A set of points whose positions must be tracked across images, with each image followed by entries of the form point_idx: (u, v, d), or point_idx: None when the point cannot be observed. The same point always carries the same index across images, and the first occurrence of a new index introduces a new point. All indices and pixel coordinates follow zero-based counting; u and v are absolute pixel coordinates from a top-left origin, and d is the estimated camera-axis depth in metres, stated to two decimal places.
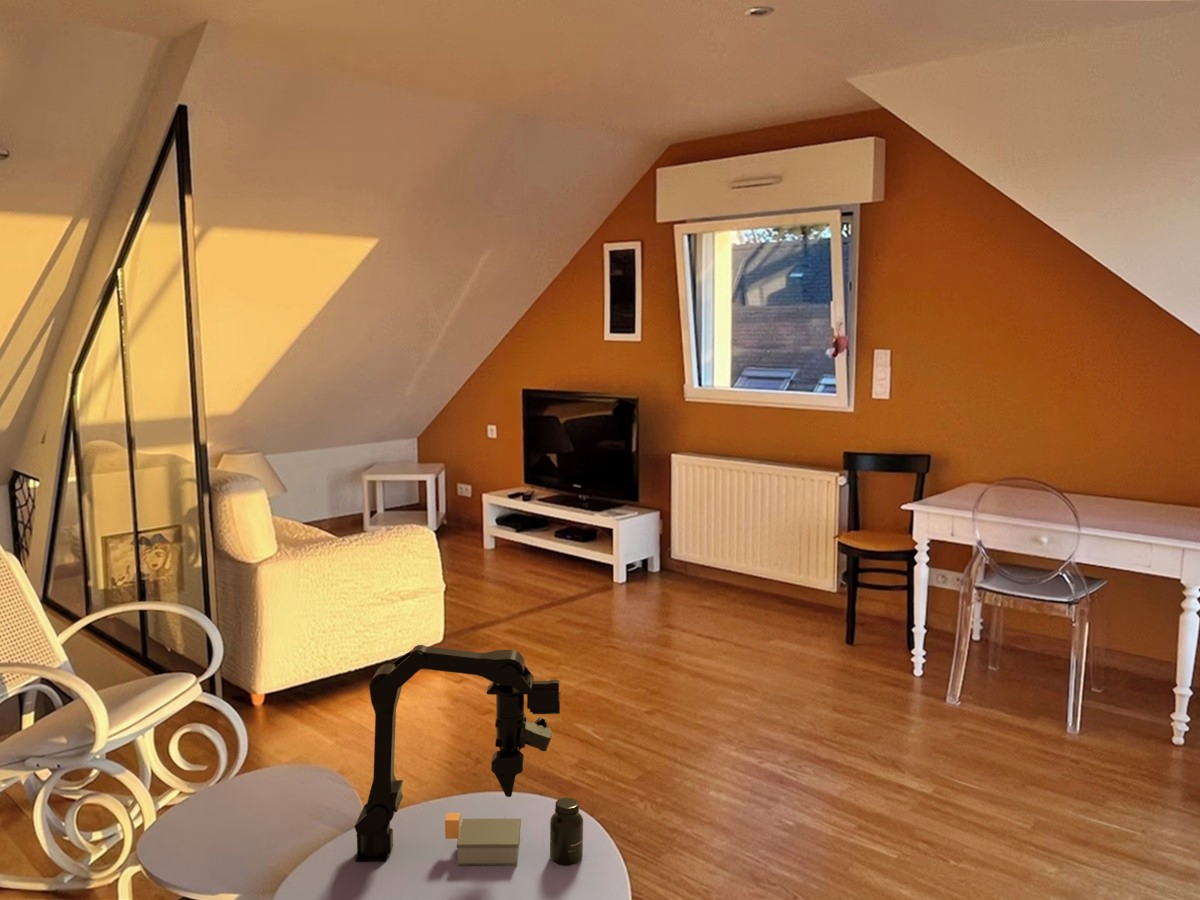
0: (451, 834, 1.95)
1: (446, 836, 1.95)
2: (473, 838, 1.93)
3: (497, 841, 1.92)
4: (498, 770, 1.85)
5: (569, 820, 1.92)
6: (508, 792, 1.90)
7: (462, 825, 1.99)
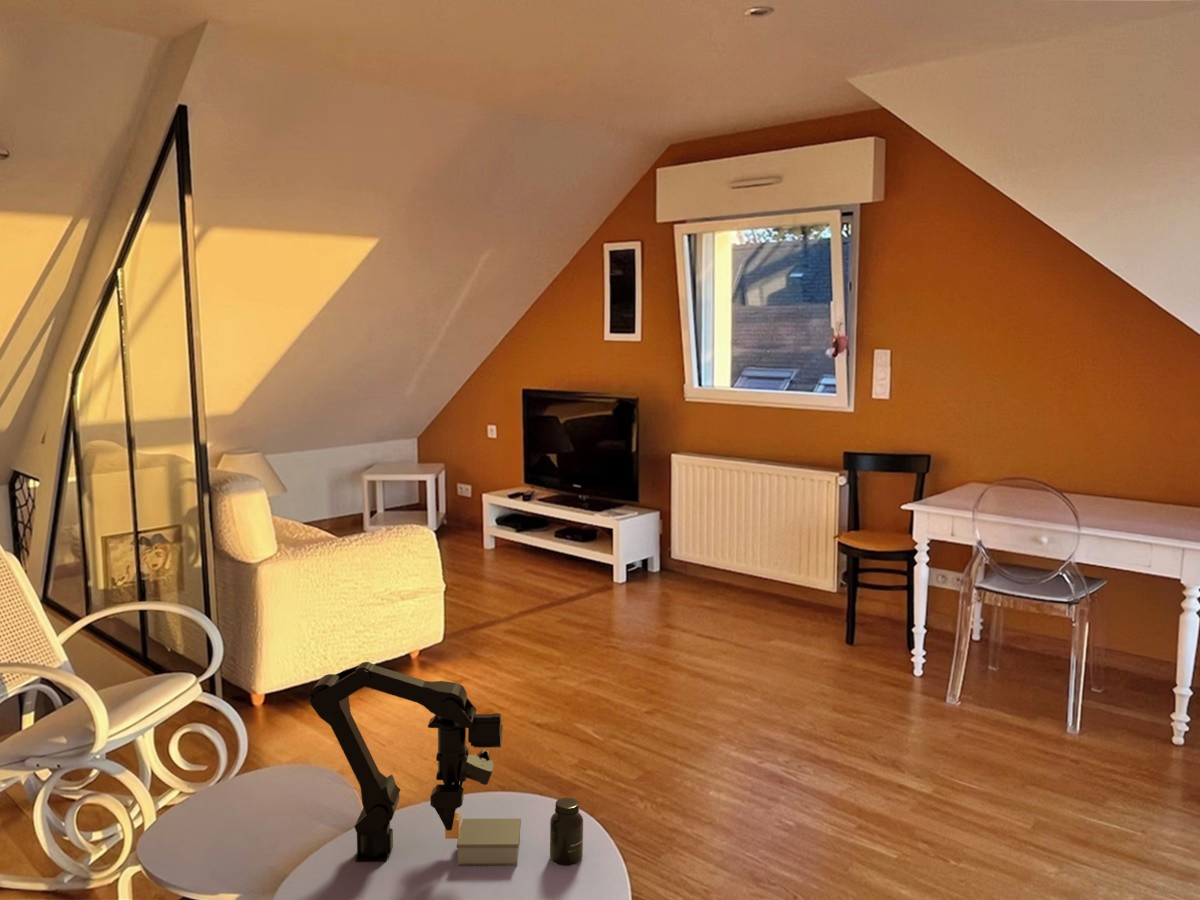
0: (451, 834, 1.95)
1: (446, 836, 1.95)
2: (473, 838, 1.93)
3: (497, 841, 1.92)
4: (437, 804, 1.86)
5: (569, 820, 1.92)
6: (448, 825, 1.91)
7: (462, 825, 1.99)
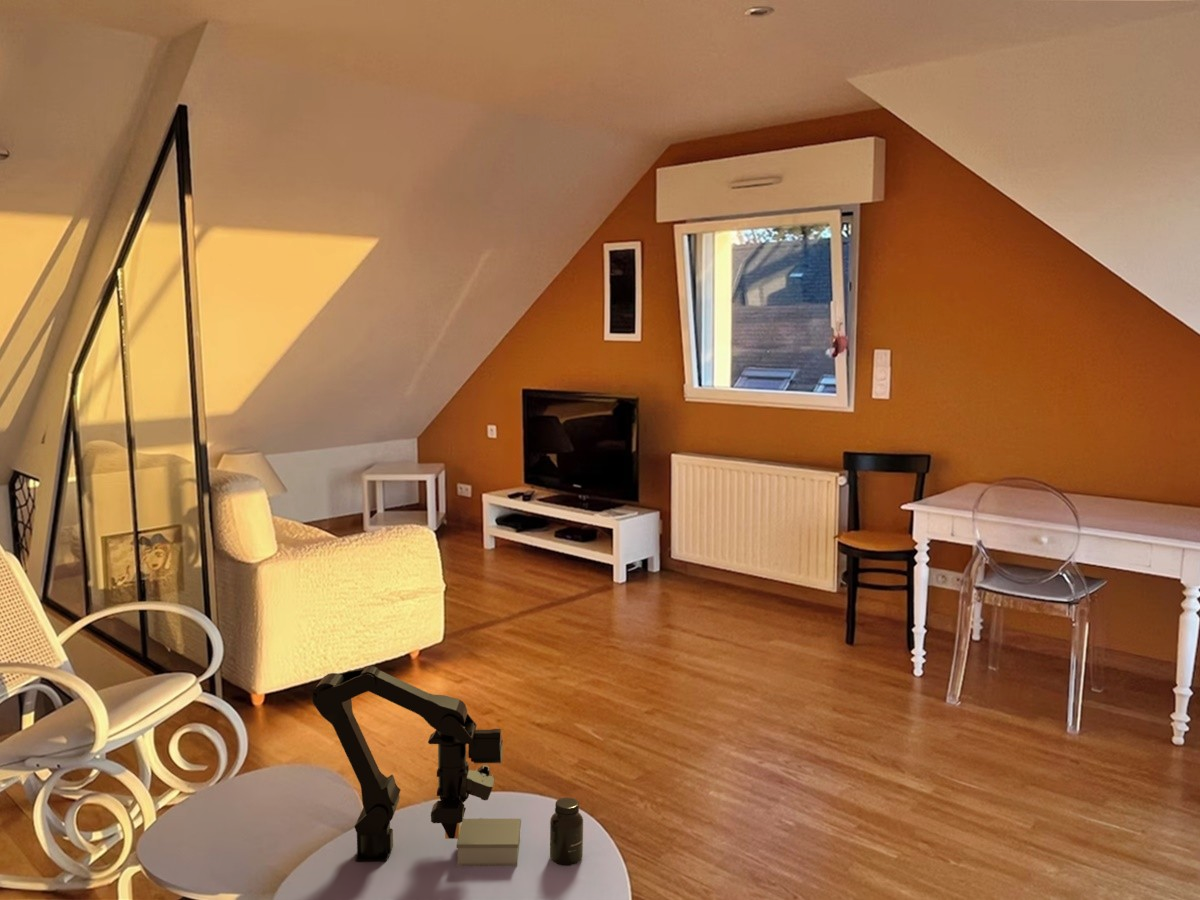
0: None
1: (446, 836, 1.95)
2: (473, 838, 1.93)
3: (497, 841, 1.92)
4: (437, 821, 1.86)
5: (569, 820, 1.92)
6: (451, 833, 1.94)
7: (462, 825, 1.99)
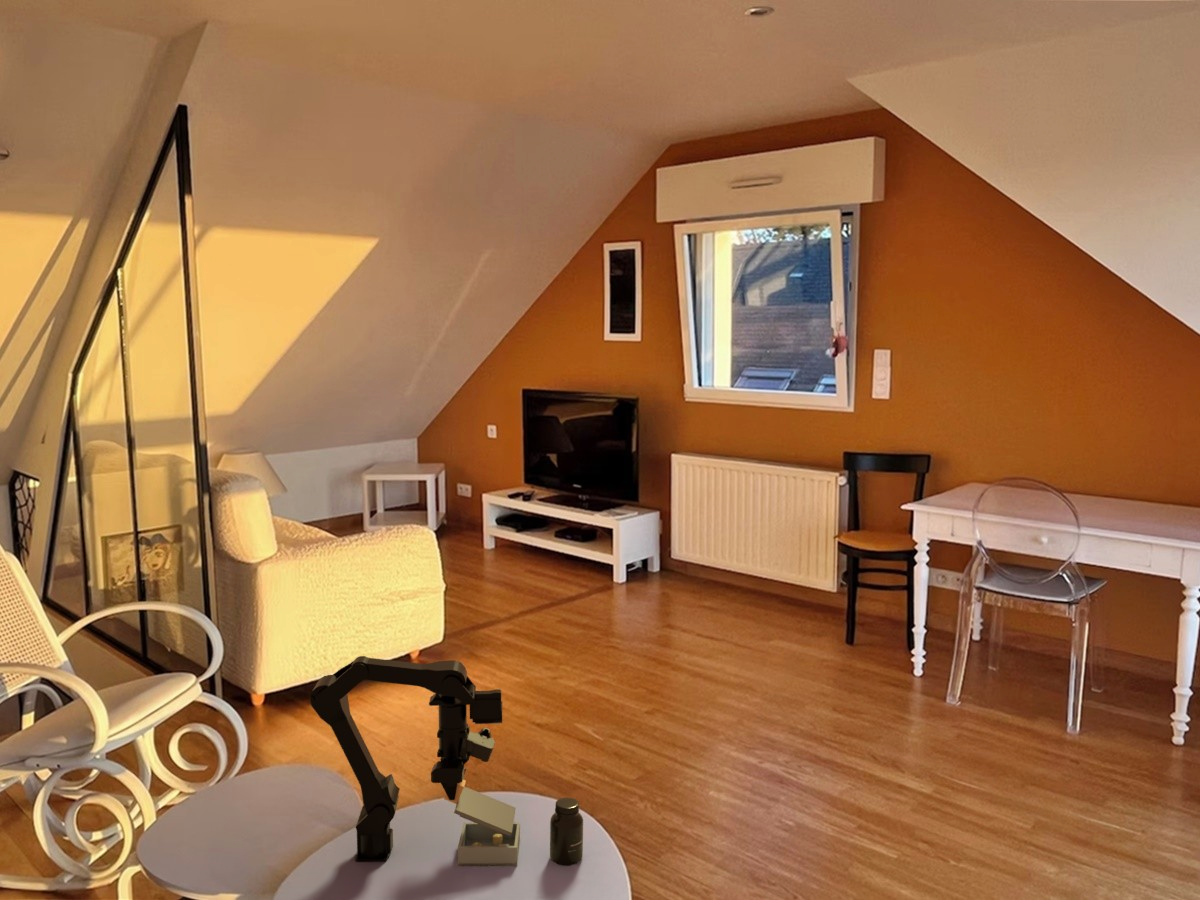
0: None
1: (446, 797, 1.95)
2: (471, 809, 1.94)
3: (493, 822, 1.93)
4: (437, 781, 1.86)
5: (569, 820, 1.92)
6: (451, 795, 1.94)
7: (461, 792, 1.99)
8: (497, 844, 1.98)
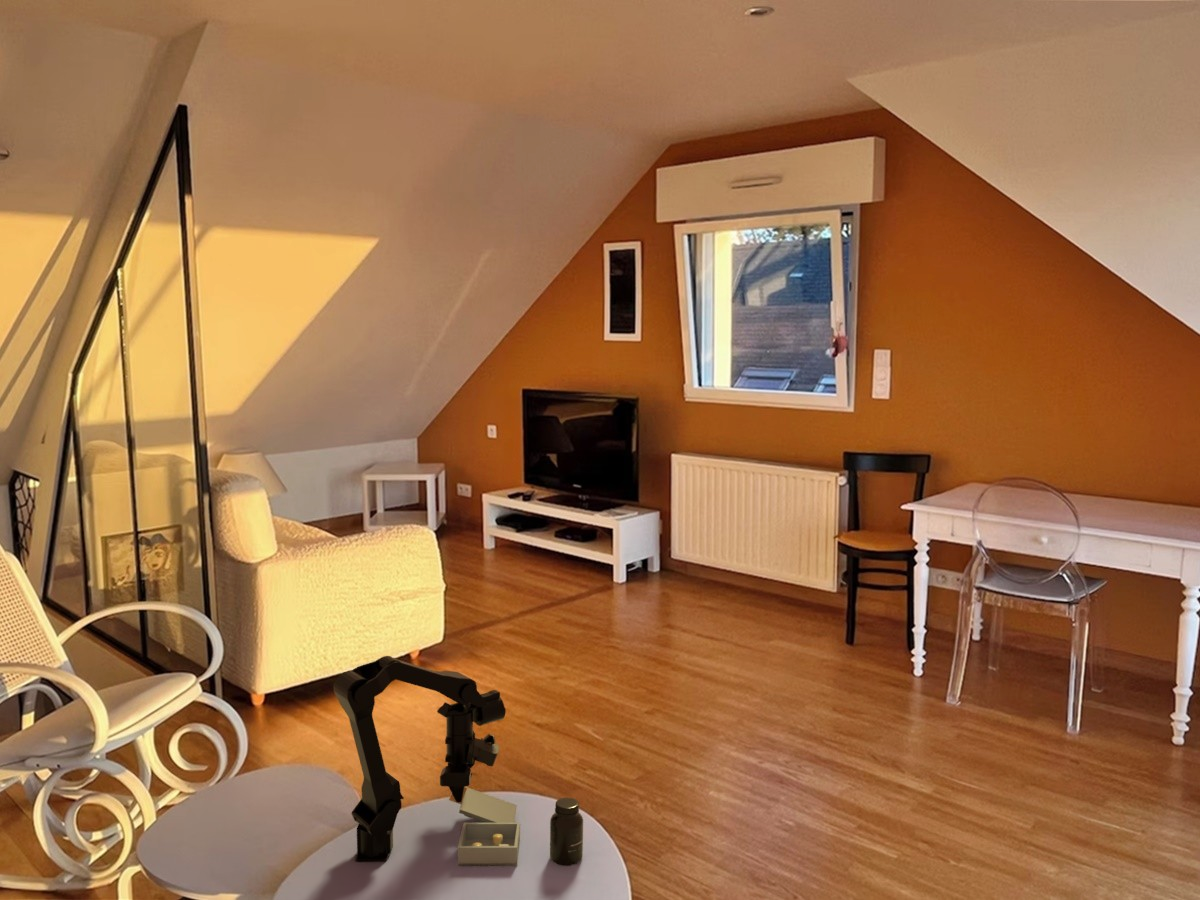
0: None
1: (450, 798, 2.07)
2: (475, 809, 2.06)
3: (496, 819, 2.05)
4: (446, 784, 1.99)
5: (569, 820, 1.92)
6: (458, 797, 2.07)
7: (465, 793, 2.11)
8: (497, 844, 1.98)
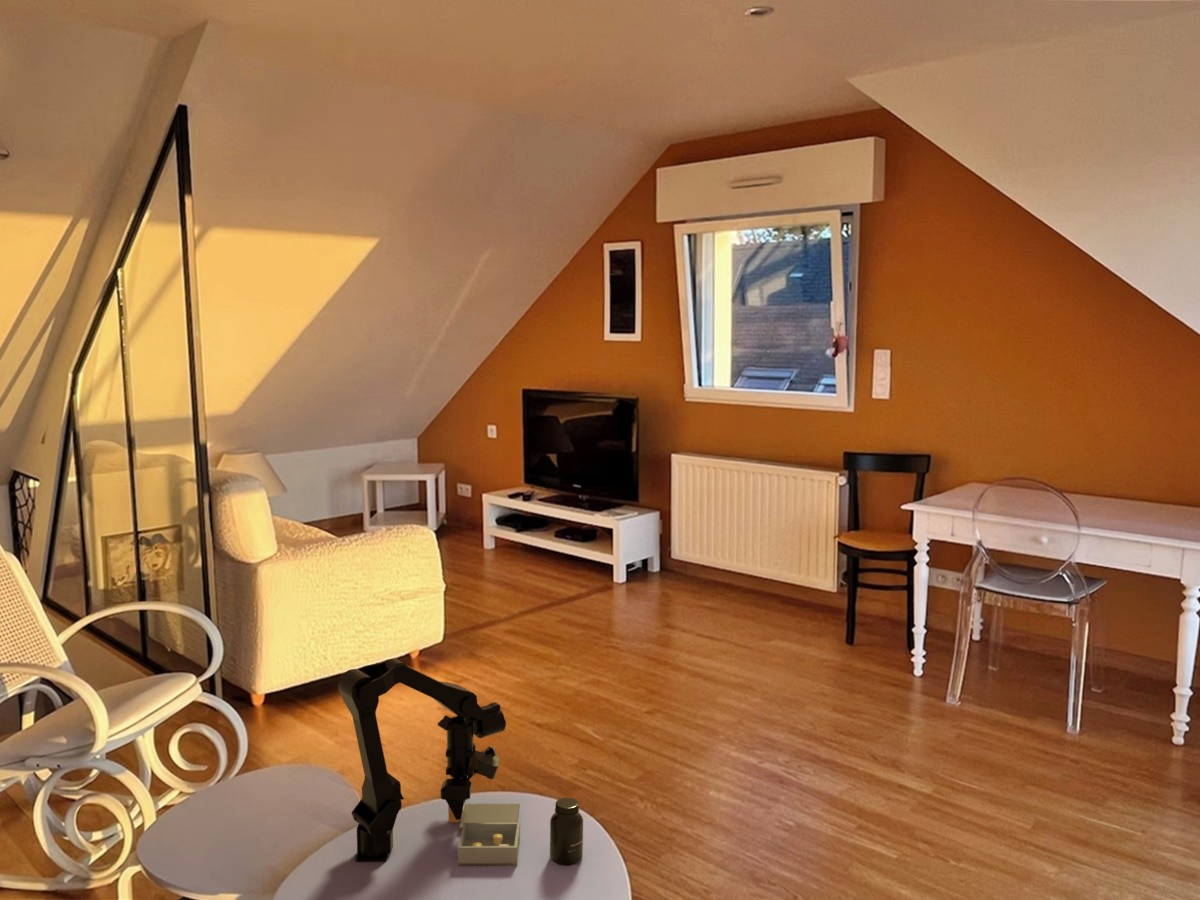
0: (454, 818, 2.08)
1: (449, 820, 2.08)
2: (475, 821, 2.07)
3: None
4: (447, 797, 1.99)
5: (569, 820, 1.92)
6: (458, 815, 2.05)
7: (464, 809, 2.12)
8: (497, 844, 1.98)
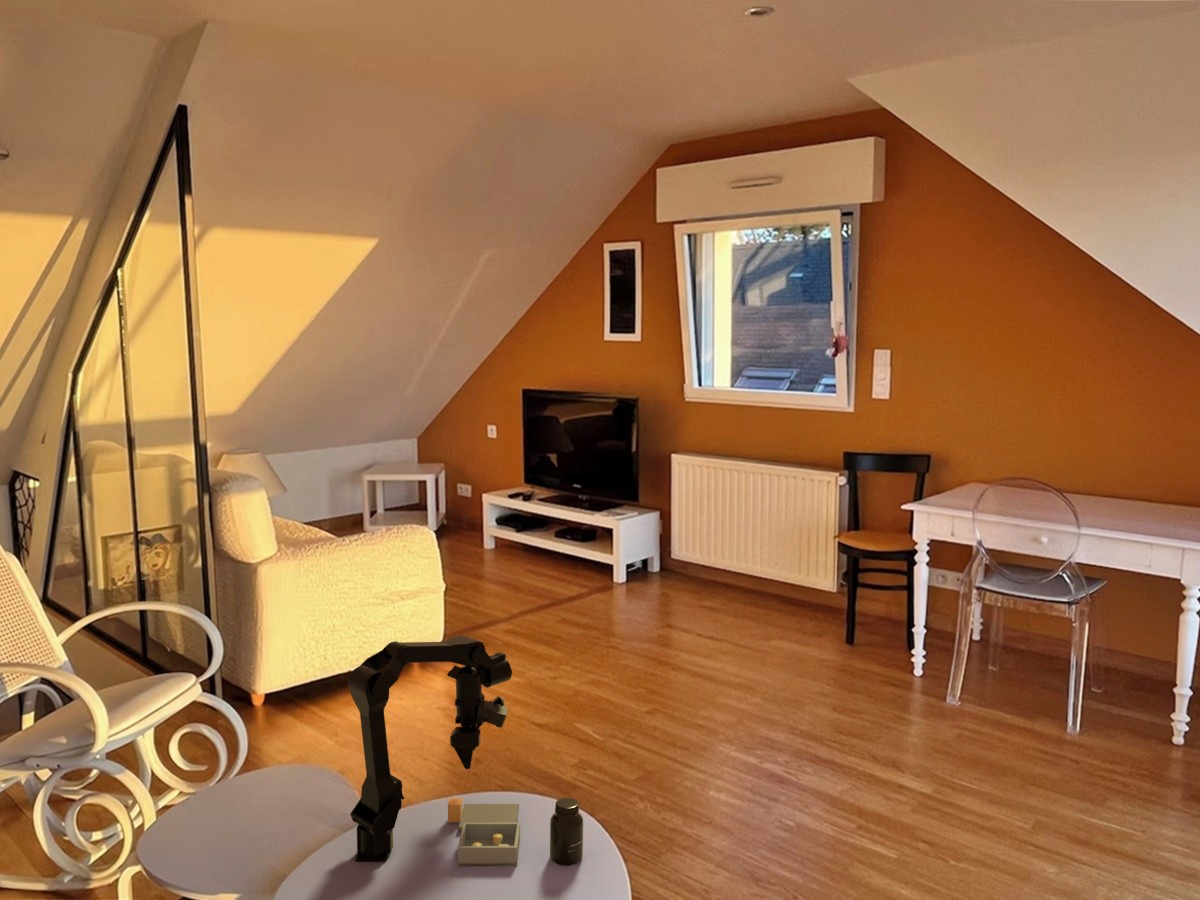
0: (453, 818, 2.08)
1: (449, 820, 2.08)
2: (474, 821, 2.07)
3: None
4: (456, 744, 2.02)
5: (569, 820, 1.92)
6: (467, 764, 2.08)
7: (464, 810, 2.12)
8: (497, 844, 1.98)
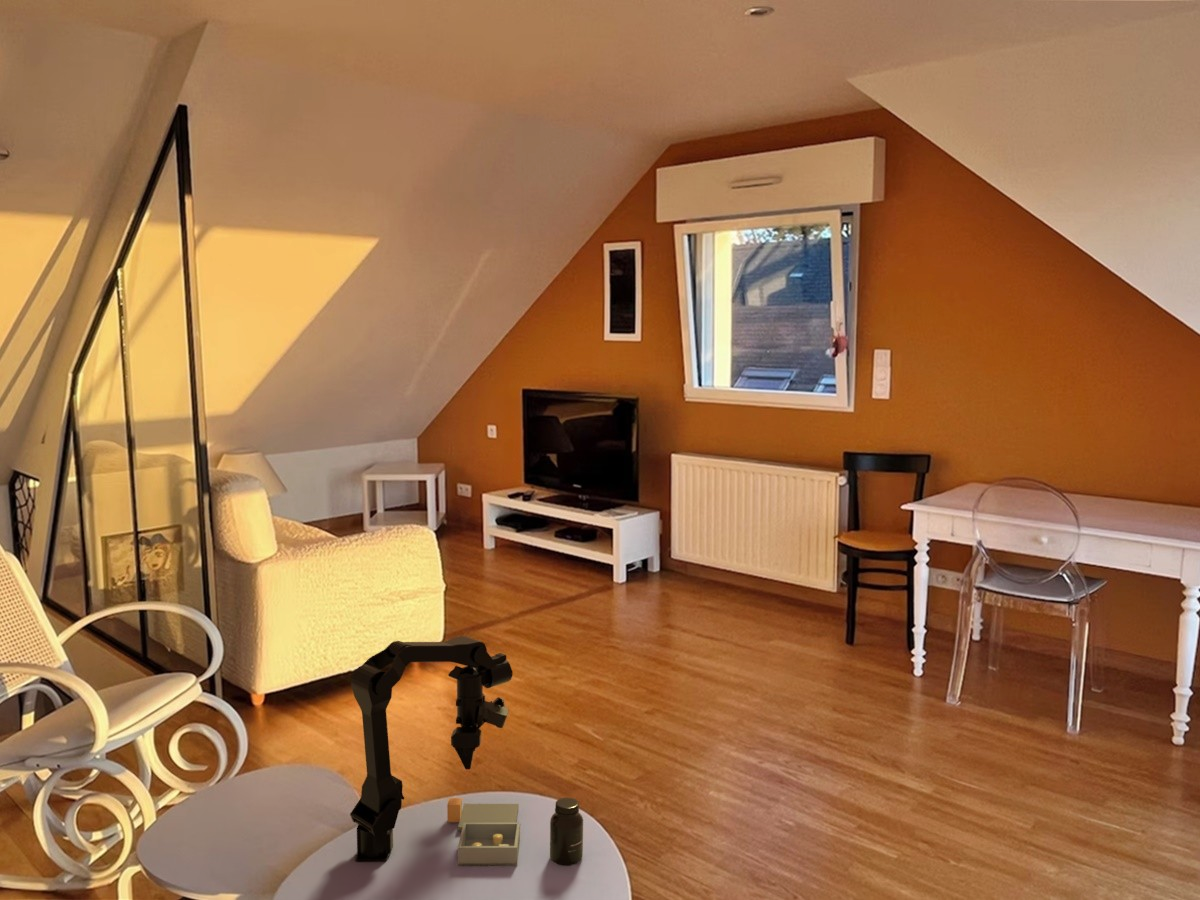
0: (453, 818, 2.08)
1: (448, 819, 2.08)
2: (473, 821, 2.07)
3: None
4: (457, 744, 2.03)
5: (569, 820, 1.92)
6: (467, 764, 2.08)
7: (463, 809, 2.12)
8: (497, 844, 1.98)
